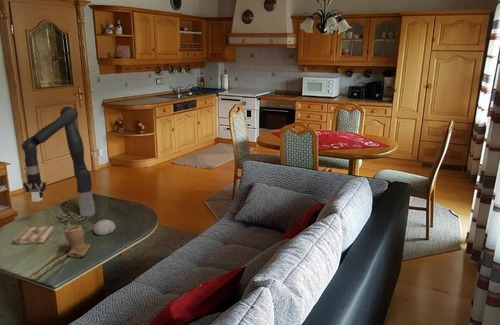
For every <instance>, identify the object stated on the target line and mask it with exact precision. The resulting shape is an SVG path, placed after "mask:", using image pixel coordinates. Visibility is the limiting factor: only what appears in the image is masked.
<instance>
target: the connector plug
mask: <svg viewBox="0 0 500 325" xmlns="http://www.w3.org/2000/svg"><path fill="white" fill-rule="evenodd" d="M30 191H31V196H30V198H31V202H34V203H35V202H41V201H42V200H43V197H42V198H40V195H39V189H37V188H33V189H31V190H30Z"/></svg>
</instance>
